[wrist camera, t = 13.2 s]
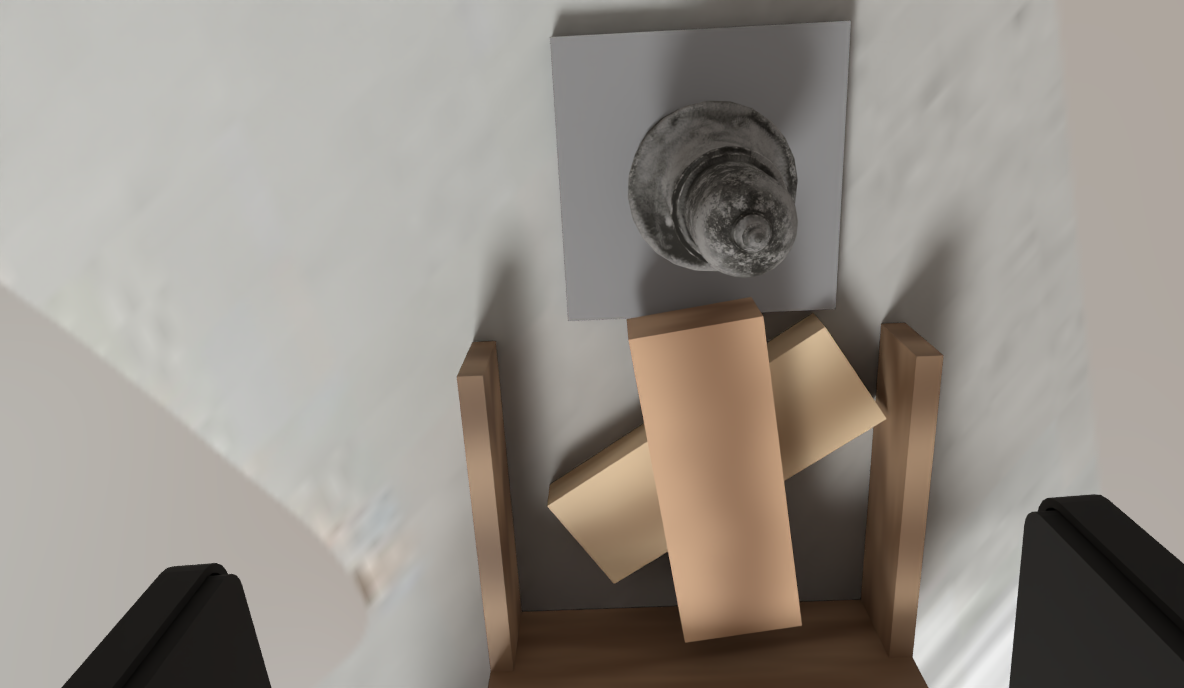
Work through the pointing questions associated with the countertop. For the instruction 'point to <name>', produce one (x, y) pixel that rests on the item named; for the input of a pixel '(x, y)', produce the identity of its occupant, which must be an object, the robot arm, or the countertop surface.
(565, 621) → the rack
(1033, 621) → the robot arm
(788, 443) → the lower offcut
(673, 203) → the grey stone finial
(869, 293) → the countertop surface
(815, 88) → the mat
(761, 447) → the upper offcut
